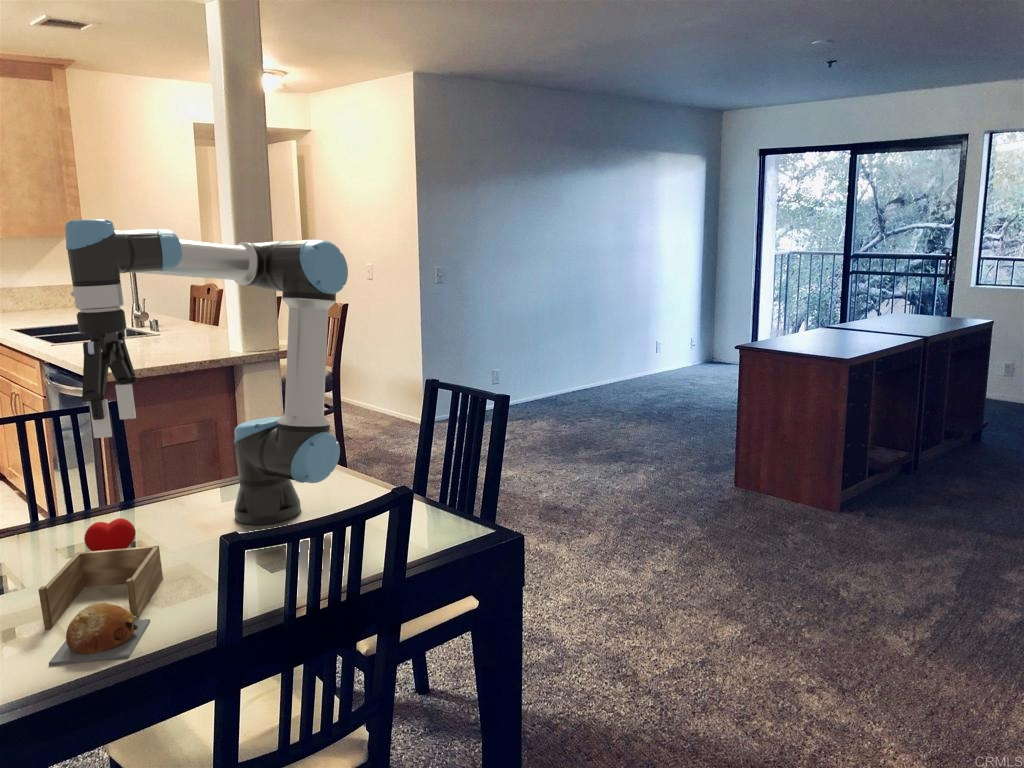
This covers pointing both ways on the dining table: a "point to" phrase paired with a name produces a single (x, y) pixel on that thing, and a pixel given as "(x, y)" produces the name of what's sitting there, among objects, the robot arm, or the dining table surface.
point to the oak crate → (103, 579)
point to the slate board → (122, 651)
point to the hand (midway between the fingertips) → (116, 427)
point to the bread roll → (100, 628)
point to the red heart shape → (110, 535)
